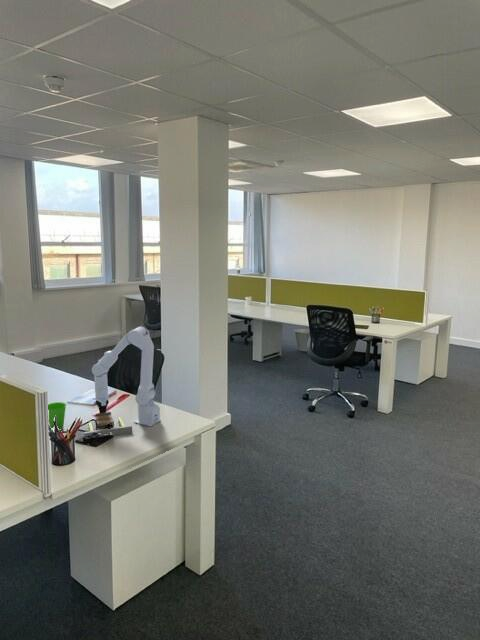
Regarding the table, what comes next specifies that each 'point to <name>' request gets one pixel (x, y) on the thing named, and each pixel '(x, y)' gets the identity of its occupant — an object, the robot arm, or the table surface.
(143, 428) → the table surface
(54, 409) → the cup
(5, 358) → the table surface
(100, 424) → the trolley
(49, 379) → the table surface
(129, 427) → the bay
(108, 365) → the robot arm
